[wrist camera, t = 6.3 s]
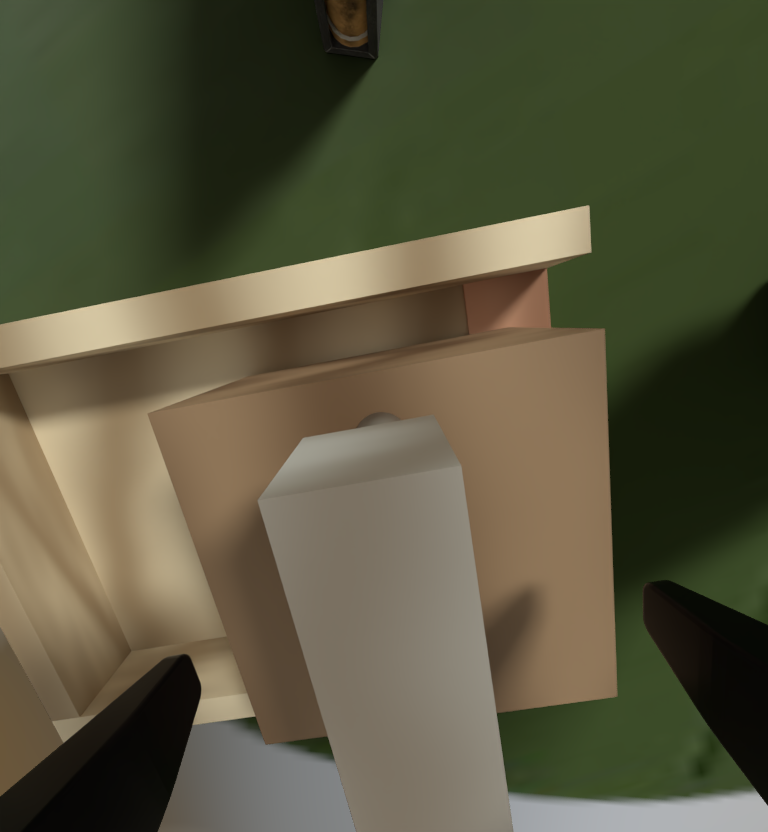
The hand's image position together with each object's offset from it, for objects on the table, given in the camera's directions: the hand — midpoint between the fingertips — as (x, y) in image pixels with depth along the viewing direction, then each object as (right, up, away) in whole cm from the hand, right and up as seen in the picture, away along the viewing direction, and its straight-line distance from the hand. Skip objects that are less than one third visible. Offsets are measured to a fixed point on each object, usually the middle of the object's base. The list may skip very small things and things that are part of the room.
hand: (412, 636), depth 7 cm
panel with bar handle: (0, +2, +8) cm, 8 cm away
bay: (-4, +2, +9) cm, 10 cm away
